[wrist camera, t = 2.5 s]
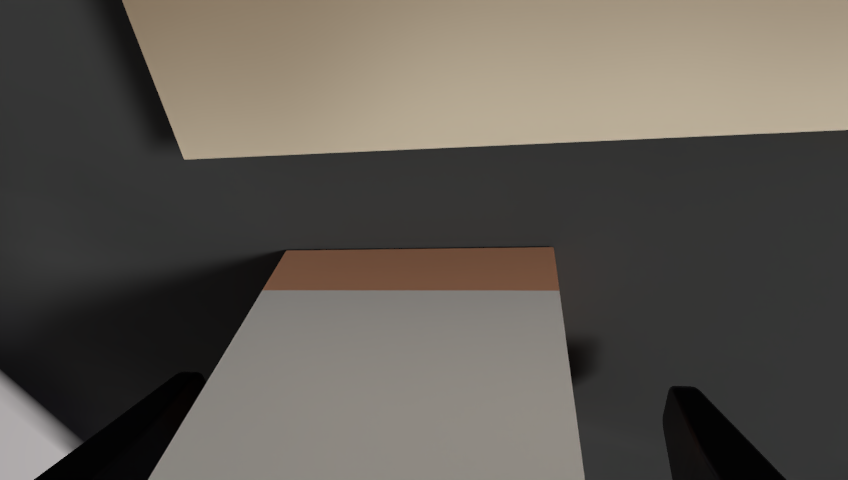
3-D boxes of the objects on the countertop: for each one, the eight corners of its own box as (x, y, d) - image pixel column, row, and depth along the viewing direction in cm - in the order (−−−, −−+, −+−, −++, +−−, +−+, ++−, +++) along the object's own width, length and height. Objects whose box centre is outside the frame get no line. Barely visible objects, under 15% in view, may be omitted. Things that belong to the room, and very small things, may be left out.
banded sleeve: (546, 426, 12) (575, 807, 7) (337, 417, 13) (231, 753, 8) (553, 247, 9) (611, 666, 4) (286, 250, 10) (72, 604, 5)
